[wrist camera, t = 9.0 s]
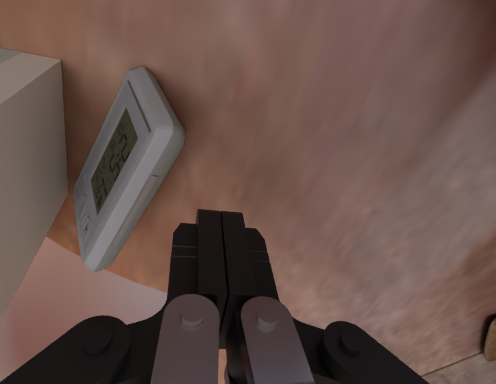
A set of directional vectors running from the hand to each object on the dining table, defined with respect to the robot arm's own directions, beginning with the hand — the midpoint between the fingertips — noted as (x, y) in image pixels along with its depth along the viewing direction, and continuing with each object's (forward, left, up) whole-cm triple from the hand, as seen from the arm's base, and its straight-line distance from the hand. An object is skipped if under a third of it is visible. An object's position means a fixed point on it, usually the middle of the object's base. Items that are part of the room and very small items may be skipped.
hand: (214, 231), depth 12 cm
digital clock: (+6, +9, -24) cm, 26 cm away
